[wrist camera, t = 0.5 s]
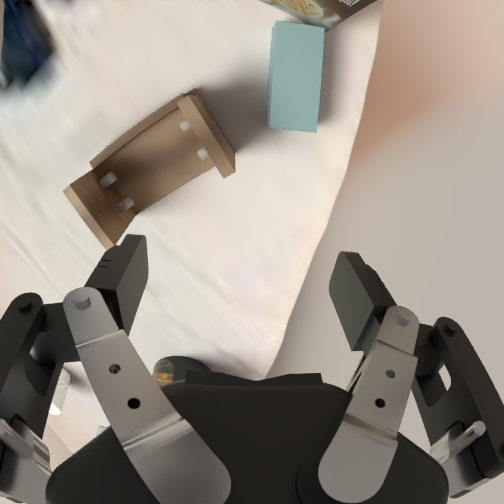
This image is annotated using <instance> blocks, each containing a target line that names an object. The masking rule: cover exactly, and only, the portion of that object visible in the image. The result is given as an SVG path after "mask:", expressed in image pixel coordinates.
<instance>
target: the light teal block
mask: <svg viewBox="0 0 504 504" xmlns="http://www.w3.org/2000/svg"><path fill="white" fill-rule="evenodd" d="M324 31H325V28H323V27H317V26H311V25H305V24H298V23H291V22H282V21H276V23H275V24H274V26H273V28H272V36H271V52H270V68H269V83H268V98H267V113H266V126H267V127H268V128H269V129H283V130H295V131H305V132H314V133H317V123H318V113H319V102H320V90H321V78H322V64H323V49H324Z"/></svg>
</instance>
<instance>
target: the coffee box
mask: <svg viewBox="0 0 504 504" xmlns="http://www.w3.org/2000/svg"><path fill="white" fill-rule="evenodd" d="M260 1H262V2H264V3H267V4H269V5H271V6H274V7H276V8H278V9H280V10H283V11H285V12H287V13H289V14H291V15H293V16H295V17H297V18H299V19H301V20H303V21H305V22H307V23H309V24H311V25H313V26H317V27H323V28H325V31H324V32H327V31H328V30H330V29H331V28H333V27H334V26H336V25H337V24H339V23H340V22H342V21H343V20H345V19H346V18H348V17H350V16H351V15H353V14H355V13H356V12H358V11H360V10H361V9H363V8H365V7H366V6H368V5H370V4H371V3H373V2H375V1H377V0H260Z"/></svg>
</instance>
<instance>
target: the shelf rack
mask: <svg viewBox="0 0 504 504" xmlns="http://www.w3.org/2000/svg"><path fill="white" fill-rule="evenodd" d="M89 163H90V165H91V167H92V168H93V170H91V171H89V172H88V173H86V174H85V175H83V176H82V177H80V178H79V179H77V180H76V181H74V182H73V183H71V184H70V185H69V186H68V187H67V188H66V189H65V190H63V193H64V194H65V196H66V197H67V199H68V200H69V201H70V203H71V204H72V206H73V207H74V208H75V210H76V211H77V212H78V214H79V215H80V217H81V218H82V219H83V221H84V222H85V223H86V225H87V226H88V227H89V229H90V230H91V231H92V232H93V234H94V235H95V236H96V238H97V239H98V240H99V241H100V243H101V244H102V245H103V247H104V248H105V249H106V250H108V249H110V248H111V247H113V246H114V245H116V243H117V242H118V240H119V239H120V237H121V236H122V234H123V233H124V232H125V230H126V229H127V227H128V226H129V224H130V223H131V221H132V220H133V219H134V217H135V216H136V215H137V214H138V213H140V212H141V211H143V210H144V209H146V208H147V207H149V206H150V205H152V204H154V203H155V202H157V201H158V200H160V199H161V198H163V197H164V196H166V195H168V194H169V193H171V192H172V191H174V190H175V189H177V188H179V187H180V186H182V185H184V184H185V183H187V182H188V181H190V180H192V179H193V178H195V177H197V176H198V175H200V174H202V173H204V172H205V171H207V170H209V169H210V168H212V167H214V166H216V167H217V169H218V170H219V172H220V174H221V175H222V177H223V178H226V177H227V176H229V175H231V174H233V173H235V152H234V150H233V149H232V147H231V145H230V144H229V142H228V140H227V139H226V137H225V136H224V134H223V132H222V131H221V129H220V127H219V126H218V124H217V122H216V121H215V119H214V117H213V116H212V114H211V113H210V111H209V109H208V108H207V106H206V105H205V103H204V101H203V100H202V98H201V96H200V95H199V93H198V92H197V90H196V89H195V88H194V89H193V90H191V91H189V92H188V93H186V94H181V95H180V96H178V97H176V98H175V99H173V100H172V101H170V102H169V103H167V104H166V105H164V106H163V107H161V108H160V109H158V110H157V111H155V112H154V113H152V114H151V115H149V116H148V117H146V118H145V119H144V120H142V121H141V122H139V123H138V124H137V125H135V126H134V127H133V128H131V129H130V130H129V131H127V132H126V133H125V134H123V135H122V136H121V137H119V138H118V139H117V140H116V141H114V142H113V143H112V144H110V145H109V146H108V147H107V148H106V149H104V150H103V151H102V152H101V153H99V154H98V155H97V156H96V157H95V158H93V159H92V160H91V161H90V162H89Z"/></svg>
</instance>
